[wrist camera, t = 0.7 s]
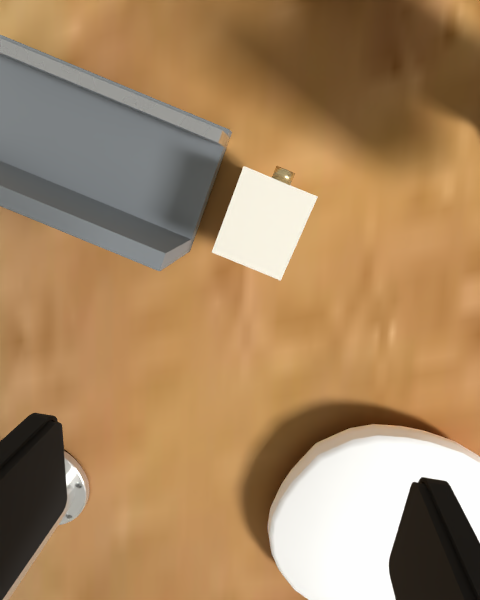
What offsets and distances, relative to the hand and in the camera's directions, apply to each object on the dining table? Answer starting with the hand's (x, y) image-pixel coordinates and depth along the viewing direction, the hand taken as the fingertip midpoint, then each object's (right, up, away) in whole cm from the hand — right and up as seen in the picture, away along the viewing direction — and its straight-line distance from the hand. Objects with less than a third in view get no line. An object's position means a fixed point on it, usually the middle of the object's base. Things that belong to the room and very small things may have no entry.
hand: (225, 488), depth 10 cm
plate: (+17, -21, +35) cm, 44 cm away
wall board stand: (-13, +19, +26) cm, 35 cm away
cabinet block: (+3, +13, +27) cm, 30 cm away
